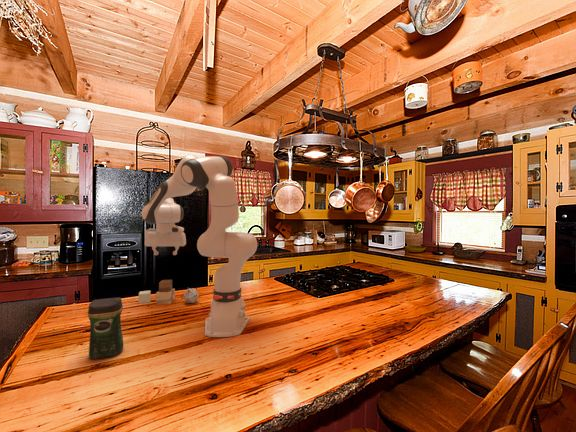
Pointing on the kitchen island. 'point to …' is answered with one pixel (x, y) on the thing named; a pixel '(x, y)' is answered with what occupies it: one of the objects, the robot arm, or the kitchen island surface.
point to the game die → (191, 295)
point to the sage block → (144, 297)
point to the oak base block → (165, 297)
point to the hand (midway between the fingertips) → (165, 254)
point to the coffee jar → (105, 328)
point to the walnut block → (165, 286)
